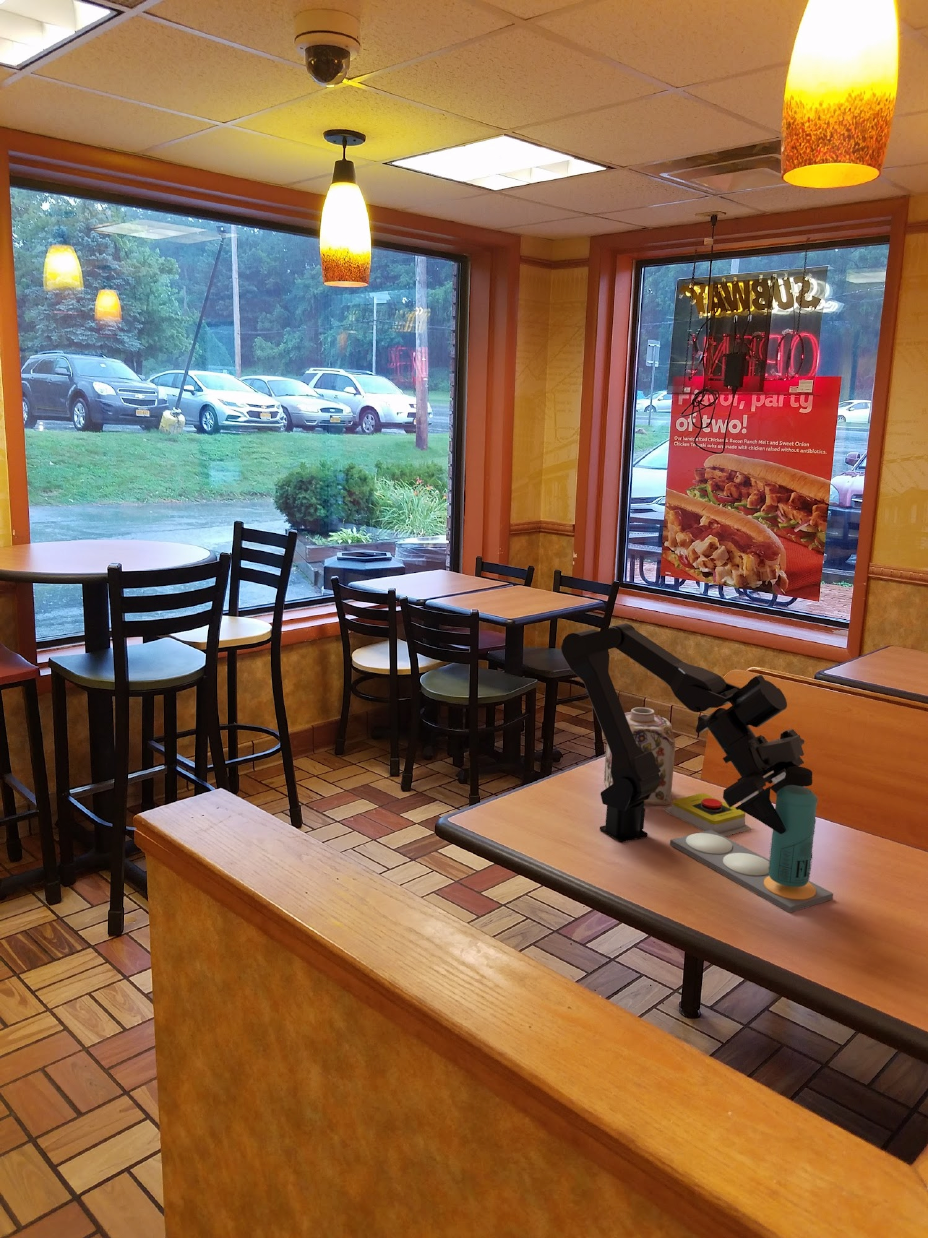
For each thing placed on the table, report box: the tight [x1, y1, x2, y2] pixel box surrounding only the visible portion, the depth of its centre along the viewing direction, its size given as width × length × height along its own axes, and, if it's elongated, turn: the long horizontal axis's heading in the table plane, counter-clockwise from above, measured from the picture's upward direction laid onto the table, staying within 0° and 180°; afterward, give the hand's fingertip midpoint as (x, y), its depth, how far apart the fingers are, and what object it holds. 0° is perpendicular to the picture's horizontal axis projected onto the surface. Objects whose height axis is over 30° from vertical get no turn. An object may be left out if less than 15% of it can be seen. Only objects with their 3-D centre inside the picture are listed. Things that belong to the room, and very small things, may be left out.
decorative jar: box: [603, 706, 676, 806], centre depth 190 cm, size 12×12×18 cm
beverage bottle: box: [768, 766, 819, 887], centre depth 150 cm, size 6×7×20 cm
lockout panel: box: [669, 830, 834, 914], centre depth 159 cm, size 10×27×1 cm, turn 30°
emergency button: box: [663, 792, 752, 838], centre depth 180 cm, size 9×4×15 cm
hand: (795, 824), depth 150 cm, fingers open, 9 cm apart
